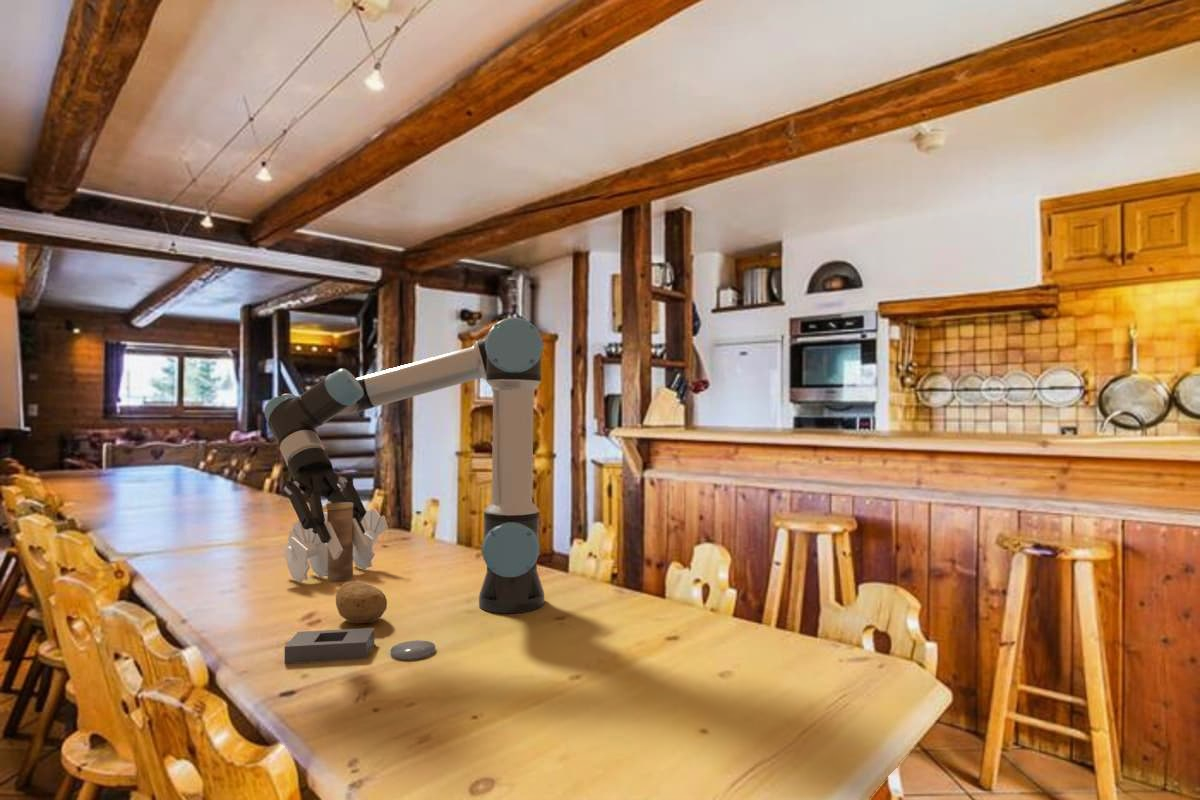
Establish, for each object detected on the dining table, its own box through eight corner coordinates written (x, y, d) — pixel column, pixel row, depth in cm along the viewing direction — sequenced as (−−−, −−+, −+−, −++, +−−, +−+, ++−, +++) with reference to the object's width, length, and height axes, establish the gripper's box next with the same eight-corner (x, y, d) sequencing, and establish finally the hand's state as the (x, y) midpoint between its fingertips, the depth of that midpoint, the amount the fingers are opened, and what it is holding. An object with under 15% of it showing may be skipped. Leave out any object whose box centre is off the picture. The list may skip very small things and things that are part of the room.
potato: (355, 635, 132) (355, 595, 132) (325, 620, 142) (325, 583, 142) (399, 624, 139) (399, 586, 139) (367, 610, 149) (368, 574, 149)
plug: (355, 575, 125) (354, 501, 125) (351, 581, 121) (351, 505, 121) (329, 577, 124) (329, 502, 124) (325, 583, 120) (324, 506, 120)
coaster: (436, 643, 127) (436, 639, 127) (432, 658, 119) (432, 654, 119) (394, 645, 126) (394, 641, 126) (387, 661, 118) (387, 657, 118)
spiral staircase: (281, 597, 173) (367, 574, 193) (310, 578, 163) (397, 555, 183) (265, 531, 178) (350, 515, 198) (292, 509, 168) (379, 494, 187)
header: (374, 643, 127) (374, 627, 127) (366, 658, 119) (366, 642, 119) (297, 647, 125) (297, 631, 125) (284, 663, 117) (284, 646, 117)
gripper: (340, 468, 139) (385, 556, 128) (255, 474, 126) (297, 574, 115) (353, 443, 136) (400, 532, 125) (268, 447, 122) (312, 547, 112)
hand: (351, 552), depth 120 cm, fingers closed on plug, 4 cm apart
